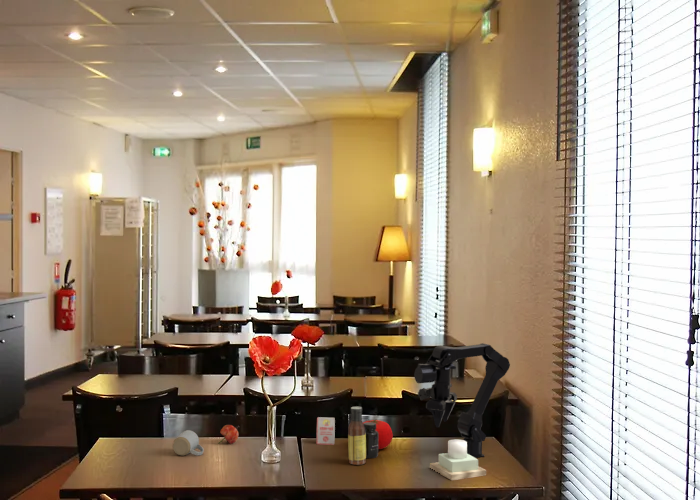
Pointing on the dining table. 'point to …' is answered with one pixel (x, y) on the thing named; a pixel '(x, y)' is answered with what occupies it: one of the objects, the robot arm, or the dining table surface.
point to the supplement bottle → (371, 440)
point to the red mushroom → (229, 433)
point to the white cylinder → (457, 449)
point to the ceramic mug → (187, 444)
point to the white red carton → (325, 431)
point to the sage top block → (458, 463)
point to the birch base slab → (457, 475)
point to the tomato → (383, 433)
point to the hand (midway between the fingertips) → (441, 424)
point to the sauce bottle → (356, 438)
